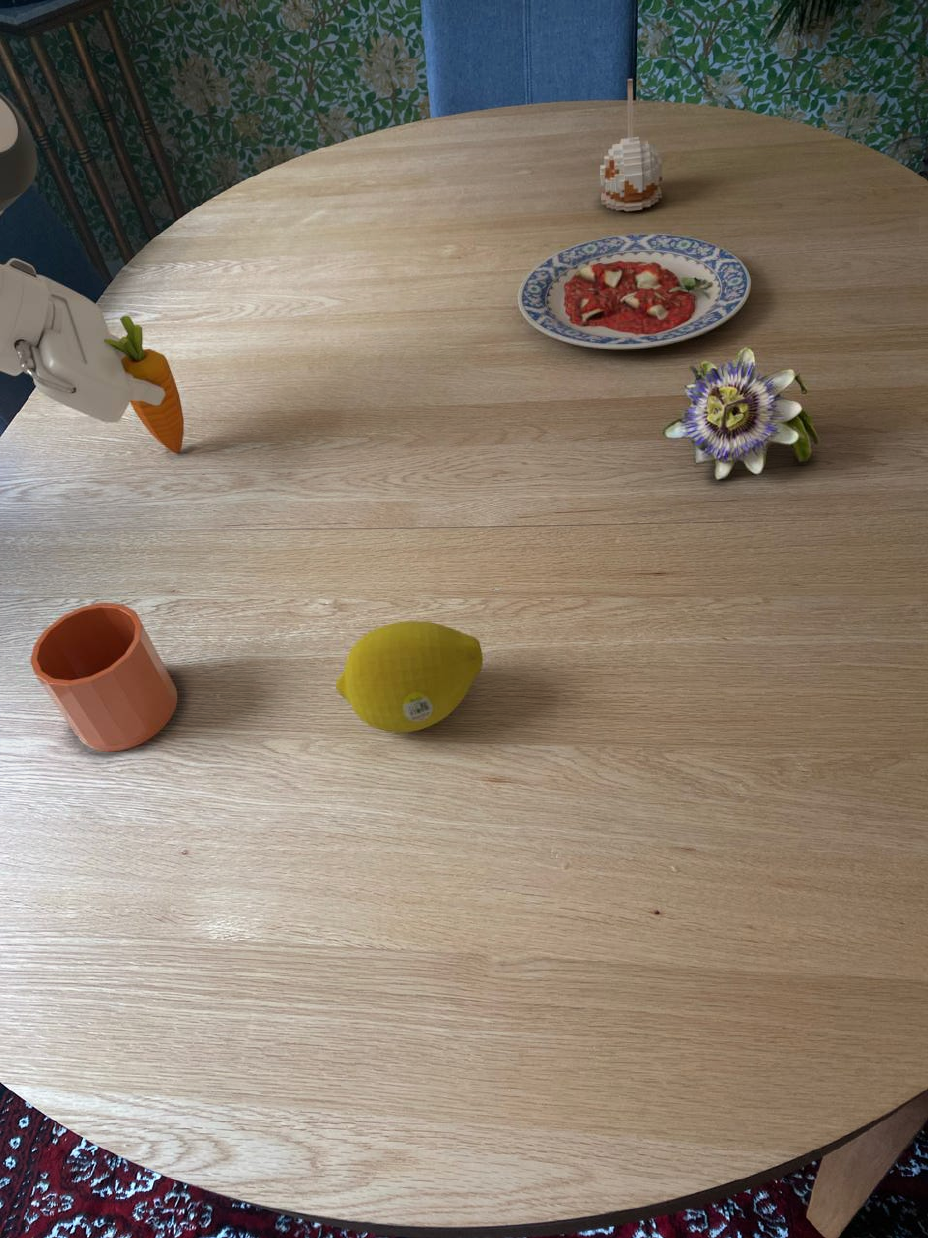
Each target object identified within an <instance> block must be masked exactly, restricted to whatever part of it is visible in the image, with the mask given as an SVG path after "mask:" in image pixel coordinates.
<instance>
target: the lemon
mask: <svg viewBox="0 0 928 1238" xmlns="http://www.w3.org/2000/svg"><path fill="white" fill-rule="evenodd" d="M483 659H484V658H483V651H482V648H481V644H480V641H479V640H478V639H477V638H476V637H475V636H473V635H469V634H467V633H463V632H461V631H458V630H456V629H454V628H452V627H449V626H446V625H443V624H441V623H440V624H439V623H436V622H432V621H420V620H419V621H417V620H415V621H401V622H395V623H390V624H387V625H384V626H383V625H382V626H380V627H378V628H375V629H373V630H371V631H370V632H368V633H366V634H365V635H363V636H362V637H361V638H360V639H359V640H358V641H357V642H355V643H354V645H353V646H352V648H351V649H350V651H349V652H348V656H347V658H346V660H345V666H344V671H343V672H342V673H341V675H340V676H339V677H338V678H337V679H336V683H335V688H336V690H337V692H338V695H340V696H341V697H342V698H344V699H345V700H346V701H347V702H348V703H349V704H350V705H351V707H352V710H353V711H354V713H355V715H357V716H358V718H359V719H360V720H361V721H362V722H364V723H365V724H367V725H369V726H370V727H372V728H374V729H377V730H380V731H384V732H389V733H396V734H401V733H413V732H417V731H420V730H424V729H427V728H429V727H431V726H433V725H435V724H438V723H439V722H441V721H442V720H443V719H445V718H447V717H448V716H450V714H451V713H452V712H454V711H455V710H456V709H457V707H458V706H459V705H460V704H461V703H462V702H463V700H464V698H465V697H466V695H467V693H468V691H469V689H470V687H471V685H472V684H473V682H474V681H475V679H476V678H477V677H478V675H479V674H480V673H481V671H482V668H483V665H484V663H483V661H484V660H483Z"/></svg>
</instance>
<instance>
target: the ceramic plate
mask: <svg viewBox="0 0 928 1238" xmlns="http://www.w3.org/2000/svg"><path fill="white" fill-rule="evenodd" d="M751 283H752V280H751V275H750V273H749V271H748V268H747V267H746V266H745V264H744V263H743V261H742V260H740V258H738V257H736V256H735V255H734V254H733V253H731V252H730V251H728V250H727V249H725V248H724V247H721V246H718V245H717V244H716V245H715V244H713V243H711V242H708V241H705V240H702V239H698V238H694V237H689V236H683V235H675V234H668V233H632V234H621V235H620V234H619V235H614V236H606V237H602V238H598V239H594V240H589V241H585V242H581V243H579V244H576V245H574V246H571V247H568V248H566V249H563V250H561V251H558V252H556V253H554V254H552V255H551V256H549V257H547V258H546V259H545V260H543V261H542V262H540V263H539V264H537V265H536V266H535V267H534V268H533V269H531V270H530V271H529V273H528V274H527V275H526V276H525V278H524V279H523V281H522V282H521V284H520V286H519V289H518V293H517V304H518V307H519V310H520V313H521V314H522V316H523V318H524V319H525V320H526V321H527V322H528V323H529V324H530V325H531V326H533V328H535V329H536V330H538V331H539V332H541V333H542V334H545V335H546V336H548V337H551V338H553V339H555V340H558V341H560V342H563V343H566V344H567V343H568V344H571V345H576V346H579V347H586V348H593V349H603V350H604V349H605V350H639V349H647V348H654V347H655V348H656V347H661V346H663V347H664V346H667V345H671V344H675V343H680V342H683V341H688V340H689V339H693V338H695V337H699V336H700V335H703V334H706V333H708V332H709V331H712V330H714V329H715V328H717V327H719V326H721V325H723V324H724V323H726V322H727V321H728V320H730V319H731V318H732V317H734V316H735V315H736V314H737V313H738V312H739V311H740V310H741V309H742V308H743V306H744V305H745V303H746V302H747V299H748V298H749V295H750V292H751Z"/></svg>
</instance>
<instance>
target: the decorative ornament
mask: <svg viewBox="0 0 928 1238" xmlns="http://www.w3.org/2000/svg"><path fill="white" fill-rule="evenodd" d="M633 82H634V81H633V78H628V79H627V132H628V133H627V137H626V138H621V139H620V143H614V144H612V145H611V148H610V149H607V152H608V155H604V157H603V158H604V164H601V165H599V167H600V168H599V174H600V175H599V176H600V186H601V187H604V192H603V193H600V199H601V206H602V205H603V206H604V205H606V209H609V208H610V209H611V210H615V211H624V212H633V211H640V210H643V208H651V206H652V205H653V206H654V205H655V203H659V199H663V193H662V188H661V186H659V184H660V183H659V182H662V181H663V159H662V156H659V154H658V150H657V147H655V148H654V147H653V144H652V143H651V144H649V140H647V139H646V140H640V136H634V108H633V107H634V89H633V88H634V87H633V86H634V85H633V84H634V83H633Z"/></svg>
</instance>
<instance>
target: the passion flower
mask: <svg viewBox="0 0 928 1238" xmlns="http://www.w3.org/2000/svg"><path fill="white" fill-rule="evenodd" d="M755 368H756V357H755V352H754V350H753V349H752V348H750V347H749V345H747V346H745V347H744V348H741V350H740V351H739V352H737V354H736V355H735V357H734V358H733V360H732V361H730V362H727V363H725V364H724V365H722V364H720V366H719V367H717V365H715V364H713V363H712V362H710V361H708V360H704V361H701V362H700V369H699V370H698V369H697V367H695V364H690V365H689V369H690V371H691V372H692V373H693V375H694V377H695V380H694V381H693V382H692V383H690V384H685V385H684V387H683V391H684V394H685V395H686V396H687V398H688V399H689V401H690V402H691V403H690V405H689V406H688V408H687V409H685V410H683V411H682V414H681V417H679V418H677V419H675V420H673V421H672V422H670V423H669V424H667V425H666V426H665V427H664V428H663V431H662V435H663V436H664V437H665V438H667V439H674V440H678V439H684V438H686V439H688V440H690V442H691V444H692V445H693V446H695V449H694V459H693V460H694V464H695V465H697V466H698V465H703V464H705V463H708V462H710V463H712V464H713V465H714V476H715V480H718V481H719V480H723V479H725V478H727V477H728V475H729V474H730V473H731V471H732V469H733V467H734V466H735V464H736V463H737V462H742V463H743V464H744V465H745V467H746V470H748V471H749V472H751V473H752V474H754V475H759V474H761V473H762V471H763V469H764V468H765V465H766V462H767V459H766V458H767V451H768V449H769V446H770V445H772V444H779V445H787V446H788V445H789V447H790V448H791V450H792V451H793V453H794V455H795V457H796V459H797V460H798V462H800V463H801V462H803V463H805V462H807V461H808V460H809V459H810V457H811V454H812V448H811V447H812V446H811V440H810V437H811V438H812V442H813V444H814V445H816V446H818V445H819V443H820V440H819V435H818V433H817V431H816V429H815V426H814V424H813V421H812V417H811V416H810V415H809V414H808V412H806V411H805V410H804V409H803V408H802V405H801V404H800V403H799V402H797V401H796V400H793V399H789V398H785V397H783V396H782V395H781V393H782V392H783V391H784V390H785V389H787V388H788V387H789V386H790V384H792V383H793V382H794V381H796V382H797V384H798V385H799V386H800V390H801V394H802V395H806V394H808V393H809V391H810V390H809V387H808V385H807V384H806V382H805V380H804V379H803V377H802V376H801V373H800V372H799V370H797V369H796V370H794V369H790V368H789V369H784V370H778V371H775V372H773V373H771V374H768V375H764V376H762V377H761V378H760V372H758V373H757V374H756V371H755V370H756V369H755ZM809 436H810V437H809Z"/></svg>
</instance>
